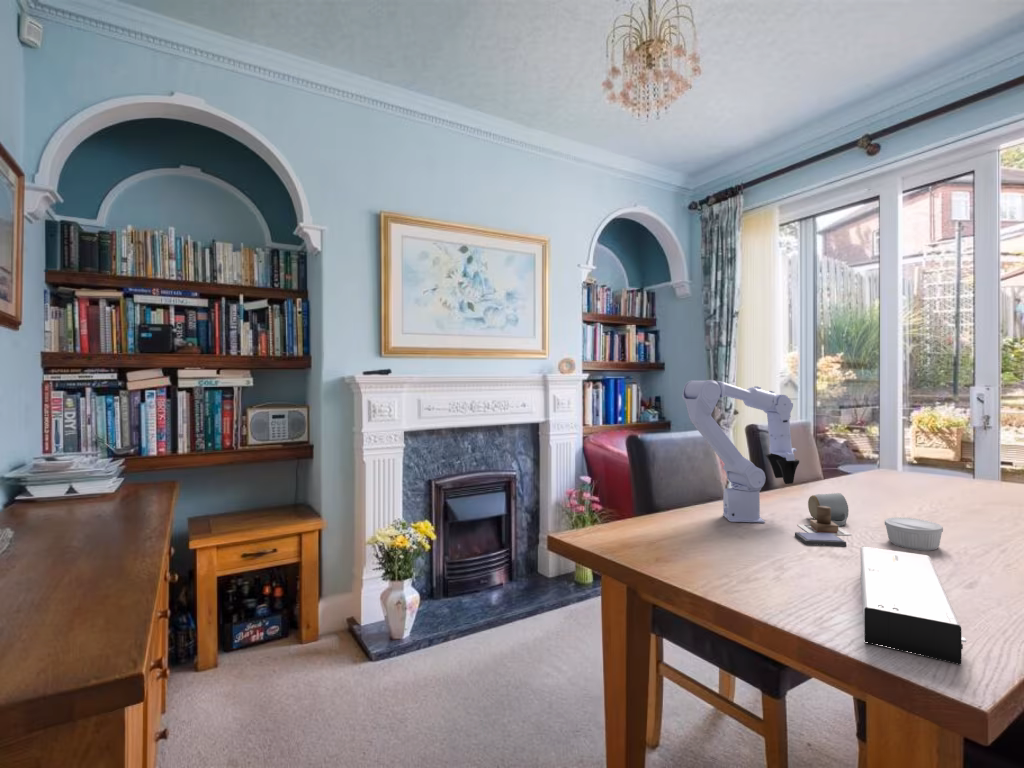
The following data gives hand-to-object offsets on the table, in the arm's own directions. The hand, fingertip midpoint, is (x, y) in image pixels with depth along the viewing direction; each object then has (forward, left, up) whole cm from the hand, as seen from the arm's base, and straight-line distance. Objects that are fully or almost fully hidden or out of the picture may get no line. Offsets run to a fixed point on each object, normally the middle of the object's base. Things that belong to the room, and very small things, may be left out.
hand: (783, 480), depth 151 cm
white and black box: (-3, -64, -11) cm, 65 cm away
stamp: (+5, -14, -10) cm, 18 cm away
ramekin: (+21, -24, -11) cm, 34 cm away
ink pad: (0, -24, -11) cm, 26 cm away
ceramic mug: (+11, -4, -11) cm, 16 cm away
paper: (+5, -14, -11) cm, 18 cm away
